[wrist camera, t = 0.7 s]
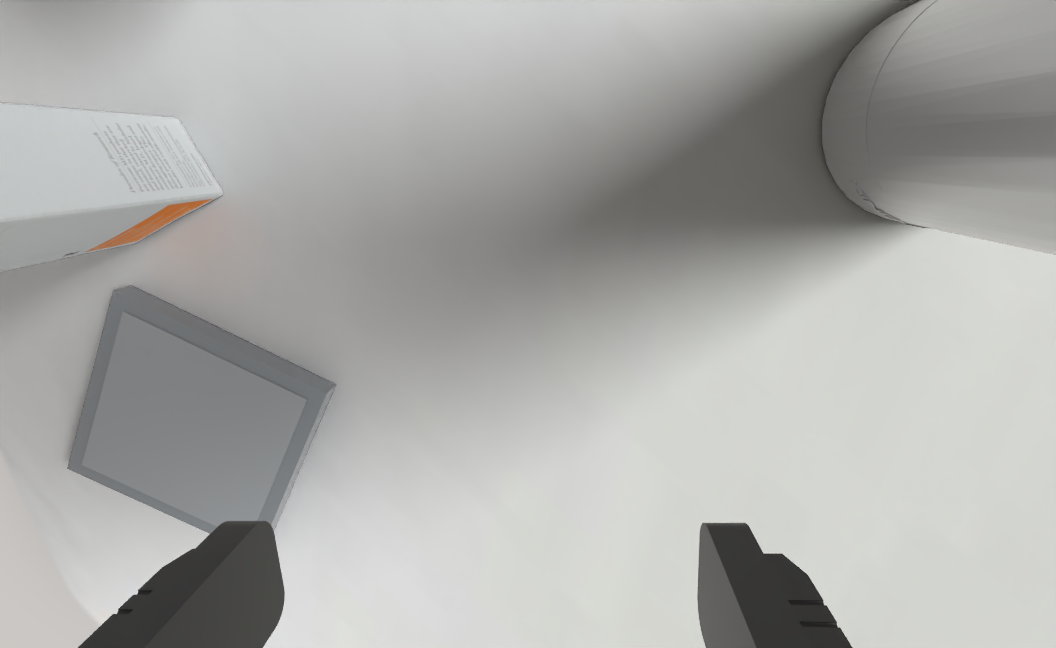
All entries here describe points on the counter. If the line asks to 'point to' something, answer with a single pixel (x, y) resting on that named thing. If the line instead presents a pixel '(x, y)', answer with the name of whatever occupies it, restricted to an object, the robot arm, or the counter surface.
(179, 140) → the skincare box
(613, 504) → the counter surface
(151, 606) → the robot arm
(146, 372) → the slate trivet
